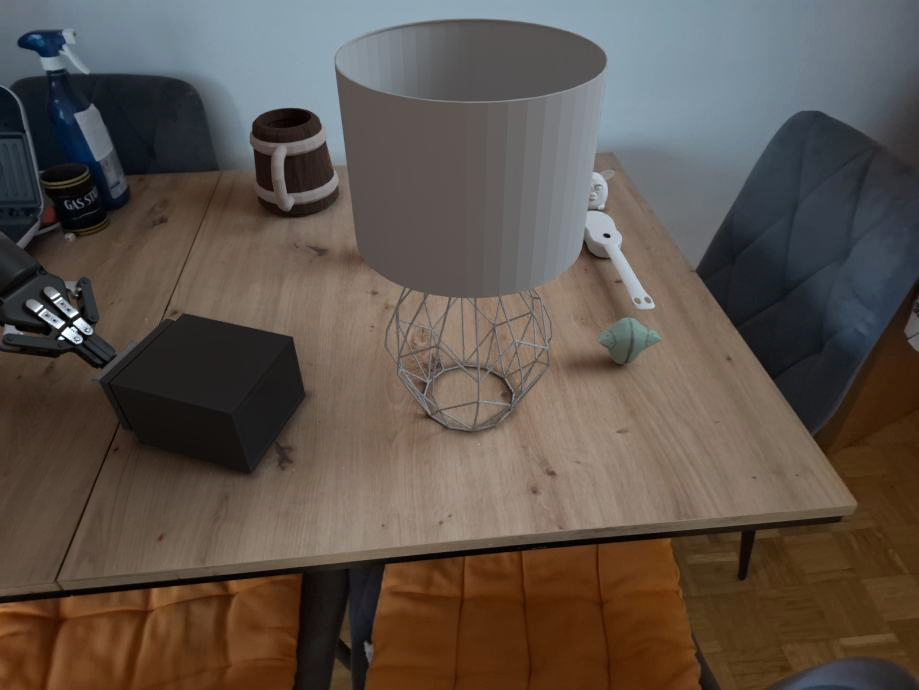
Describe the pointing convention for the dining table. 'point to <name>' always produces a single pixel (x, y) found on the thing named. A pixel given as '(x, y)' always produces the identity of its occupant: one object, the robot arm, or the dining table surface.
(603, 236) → the white toy ukulele
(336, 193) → the mug
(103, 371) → the drawer
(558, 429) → the dining table surface
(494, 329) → the table lamp
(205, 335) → the cabinet
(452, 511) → the dining table surface
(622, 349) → the green spinning top
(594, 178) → the figurine
